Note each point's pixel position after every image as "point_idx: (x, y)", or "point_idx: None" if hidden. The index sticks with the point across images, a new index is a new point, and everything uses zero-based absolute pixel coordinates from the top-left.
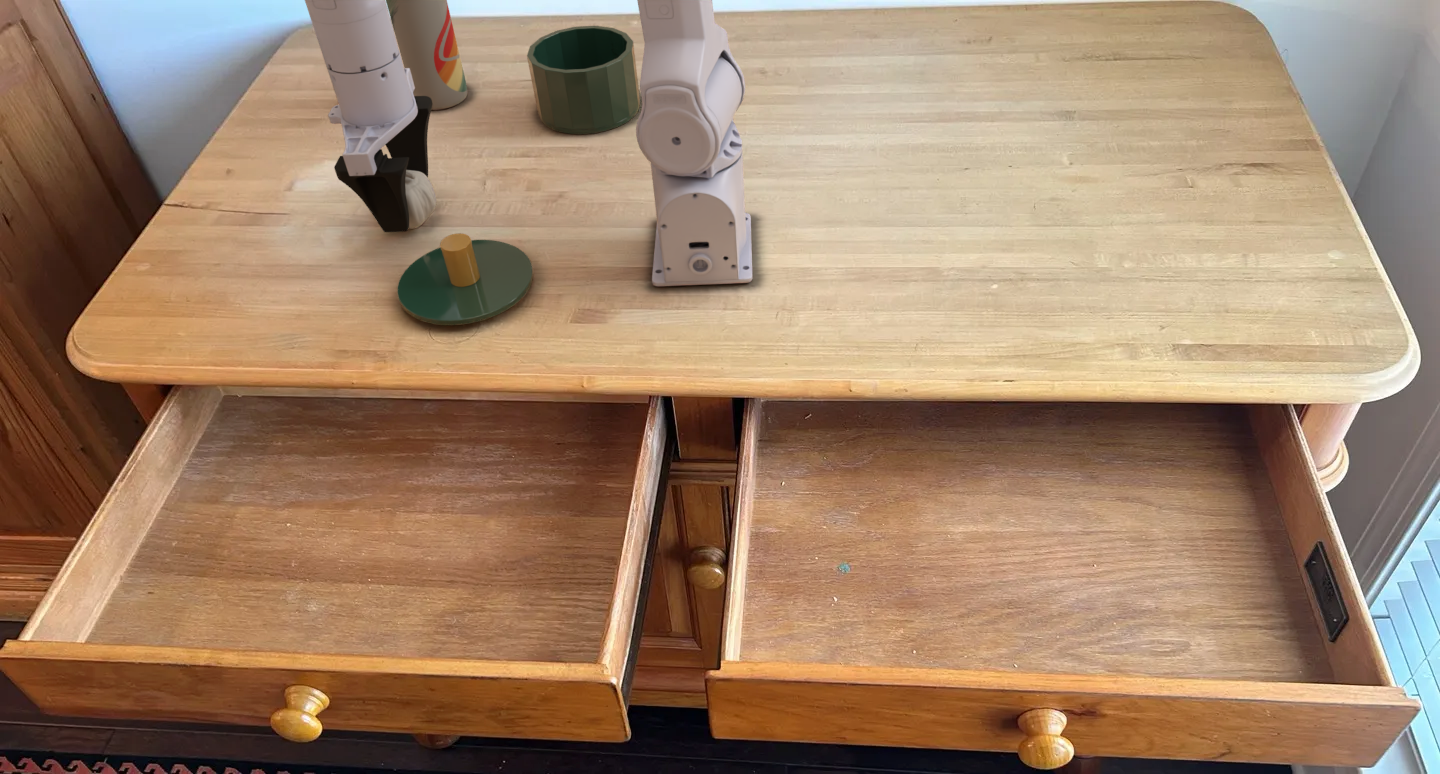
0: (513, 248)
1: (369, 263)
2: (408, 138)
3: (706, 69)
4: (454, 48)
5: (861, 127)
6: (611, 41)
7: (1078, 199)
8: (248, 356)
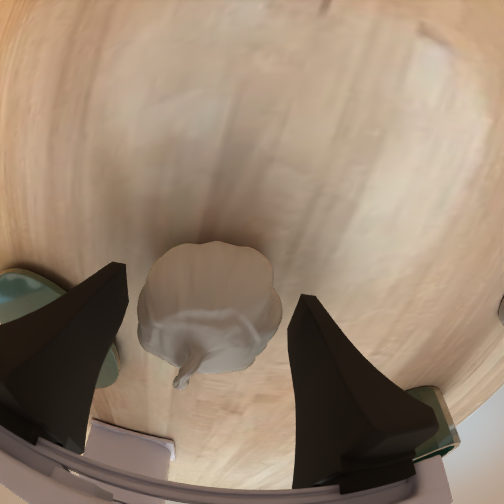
0: (105, 384)
1: (84, 210)
2: (309, 410)
3: None
4: None
5: (268, 480)
6: (418, 459)
7: None
8: None
